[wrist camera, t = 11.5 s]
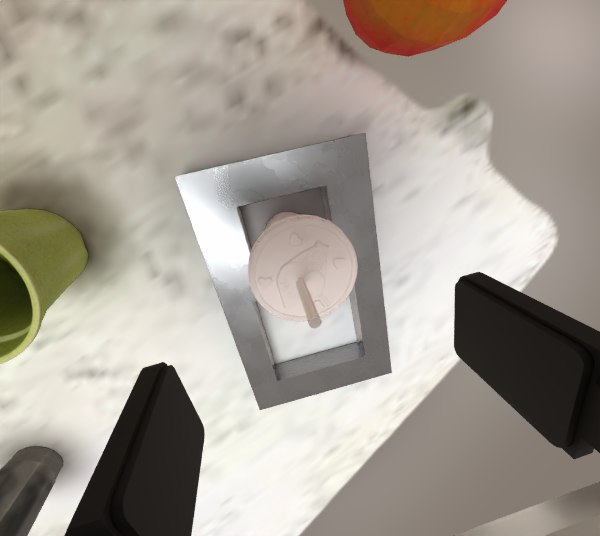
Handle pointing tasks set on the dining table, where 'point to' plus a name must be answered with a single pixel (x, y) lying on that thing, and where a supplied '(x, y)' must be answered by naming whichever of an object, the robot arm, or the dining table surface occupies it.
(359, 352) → the keyhole plate
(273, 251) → the smoothie
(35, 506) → the beverage cup
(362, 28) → the apple
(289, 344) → the dining table surface
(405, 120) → the dining table surface
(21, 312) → the plant pot
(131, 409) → the robot arm
